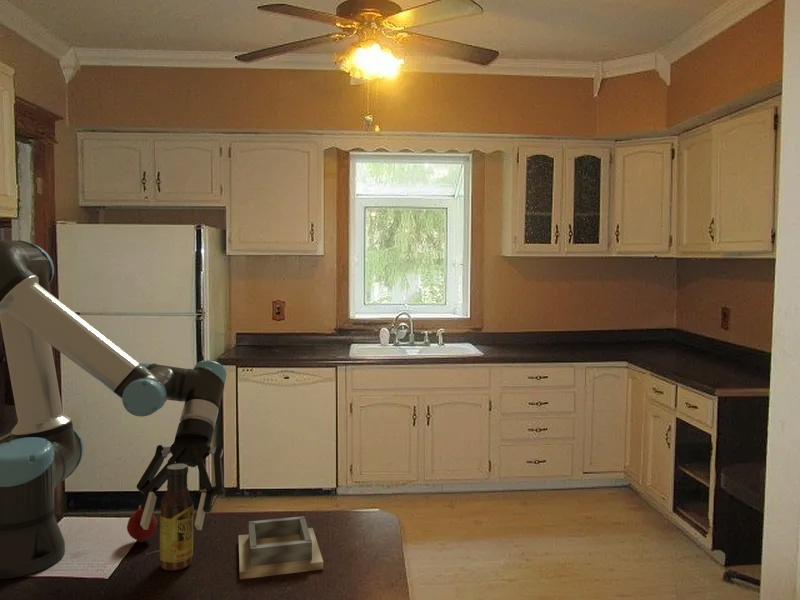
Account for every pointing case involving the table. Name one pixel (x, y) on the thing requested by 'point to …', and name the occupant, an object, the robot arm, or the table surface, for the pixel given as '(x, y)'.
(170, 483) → the sauce bottle
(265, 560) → the bottle holder
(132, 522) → the onion
